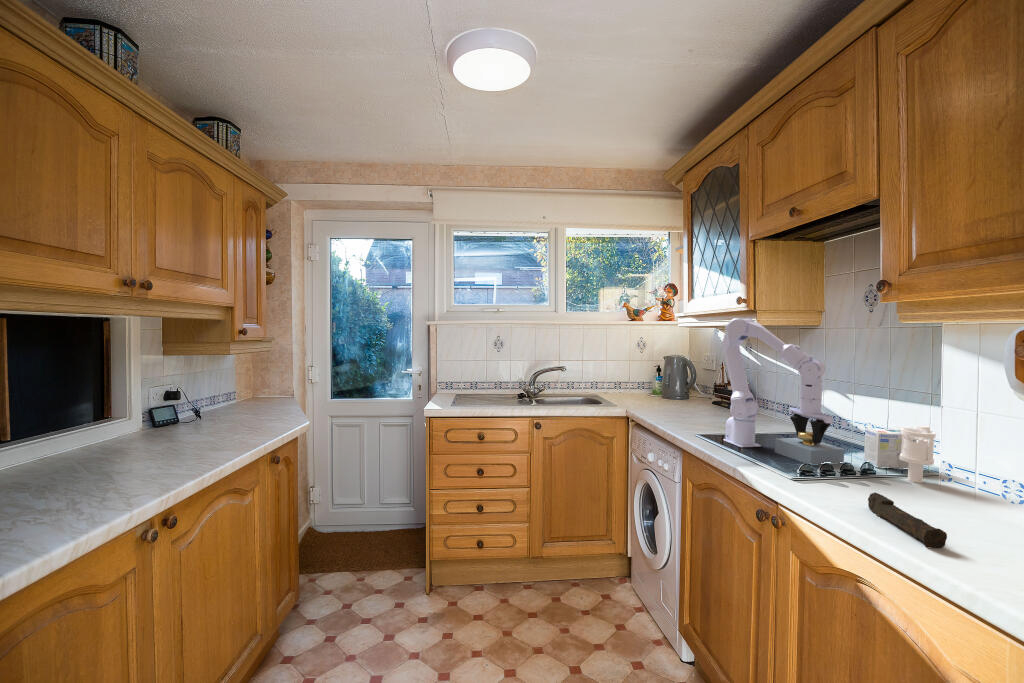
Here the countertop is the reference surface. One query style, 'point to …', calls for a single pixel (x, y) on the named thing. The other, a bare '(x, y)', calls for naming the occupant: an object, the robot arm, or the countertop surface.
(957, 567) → the countertop surface
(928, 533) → the brown wooden log
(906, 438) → the strainer
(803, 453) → the block
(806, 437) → the brass door knob
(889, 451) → the light bulb box
